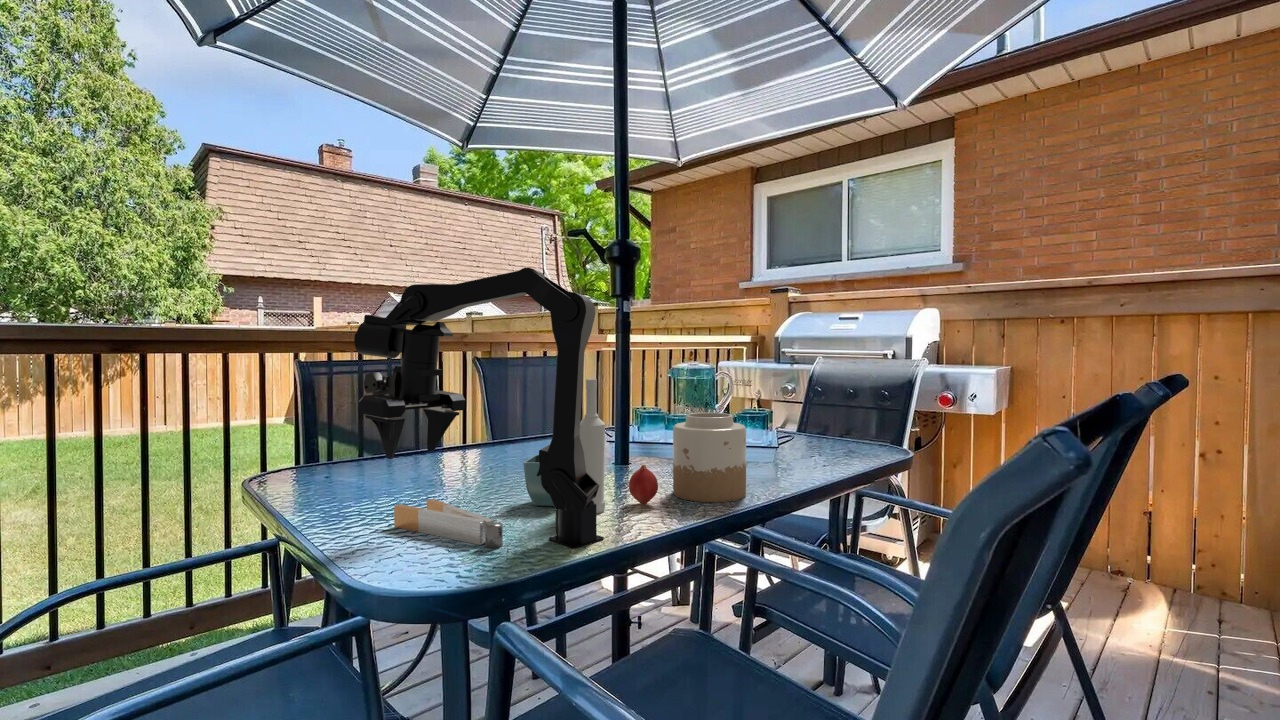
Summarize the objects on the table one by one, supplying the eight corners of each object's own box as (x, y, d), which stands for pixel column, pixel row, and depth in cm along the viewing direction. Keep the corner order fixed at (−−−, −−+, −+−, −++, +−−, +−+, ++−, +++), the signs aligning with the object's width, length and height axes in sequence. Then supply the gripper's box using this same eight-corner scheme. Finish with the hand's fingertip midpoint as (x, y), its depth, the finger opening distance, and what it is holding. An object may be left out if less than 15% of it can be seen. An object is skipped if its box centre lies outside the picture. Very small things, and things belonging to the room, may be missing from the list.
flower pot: (577, 498, 127) (576, 455, 127) (567, 510, 118) (567, 463, 118) (535, 497, 128) (534, 454, 128) (522, 508, 119) (522, 462, 119)
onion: (624, 502, 124) (624, 462, 124) (651, 499, 126) (651, 460, 126) (634, 509, 118) (634, 468, 118) (662, 506, 121) (662, 465, 120)
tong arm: (485, 542, 98) (485, 520, 98) (480, 545, 97) (480, 522, 97) (400, 524, 108) (399, 504, 108) (394, 526, 107) (394, 505, 107)
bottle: (594, 515, 114) (594, 380, 114) (572, 511, 117) (571, 379, 116) (610, 509, 119) (610, 378, 118) (589, 505, 121) (588, 378, 121)
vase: (708, 482, 142) (708, 409, 141) (761, 494, 130) (761, 415, 130) (658, 492, 132) (658, 414, 132) (710, 507, 120) (710, 421, 120)
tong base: (506, 547, 97) (506, 524, 96) (491, 551, 95) (491, 528, 95) (433, 518, 113) (432, 498, 113) (419, 521, 111) (419, 501, 111)
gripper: (422, 356, 114) (414, 440, 115) (336, 355, 97) (328, 453, 98) (470, 363, 110) (462, 450, 111) (390, 363, 93) (380, 466, 93)
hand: (410, 454), depth 103 cm, fingers open, 9 cm apart
